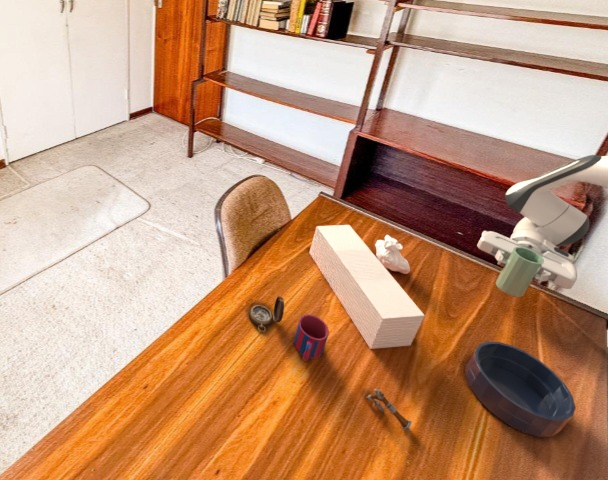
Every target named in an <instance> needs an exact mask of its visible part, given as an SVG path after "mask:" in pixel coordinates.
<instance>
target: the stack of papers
mask: <svg viewBox="0 0 608 480" xmlns="http://www.w3.org/2000/svg"><path fill="white" fill-rule="evenodd" d="M309 255H310V256H311V258H312V260H313V261H314V263H315V264H316V266H317V268H318V269H319V270H320V272H321V274H322V275H323V277H324V278H325V280H326V282H327V283H328V285H329V286H330V288H331V290H332V291H333V293H334V294H335V296H336V298H337V299H338V301H339V302H340V304H341V305H342V307H343V309H344V310H345V311H346V313H347V314H348V316H349V318H350V320H351V321H352V323H353V324H354V326H355V327H356V329H357V330H358V331H359V334H360V335H361V337H362V338H363V340H364V342H365V343H366V345H367V346H368V348H369V350H376V349H385V348H386V349H387V348H397V347H410V346H412V343H413V341H414V339H415V338H416V335H417V333H418V331H419V329H420V327H421V325H422V323H423V321H424V319H425V317H426V315H425V314H424V313H423V311H422V310H421V309H420V308H419V307H418V305H416V303H415V301H413V299H412V298H411V297H410V296H409V294H408V293H407V292H406V291H405V289H403V287H402V286H401V285H400V284H399V282H398V281H397V280H396V279H395V278H394V277H393V276H392V274H391V273H390V272H389V270H388V269H387V268H385V267H384V266H383V265H382V264H381V262H380V261H379V260H378V258H377V256H376V254H374V253H373V251H372V250H371V249H370V247H368V245H367V244H366V243H365V242H364V241H363V239H362V238H361V237H360V236H359V235H358V233H357V232H356V231H355V230H354V228H352V226H351V225H350V224H335V225H334V224H333V225H317V226H315V231H314V234H313V237H312V241H311V245H310V249H309Z"/></svg>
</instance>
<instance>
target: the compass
mask: <svg viewBox="0 0 608 480" xmlns="http://www.w3.org/2000/svg"><path fill="white" fill-rule="evenodd" d="M284 310H285V301H284V298H283V297H282V296H280V295H278V296H277V297H276V299H275V302H274V308H273V313H272V310H270V308H268V307H267V306H264V305H261V304H254V305H252V306H251V307H250V308H249V311H248V317H249V319H250V321H251V322H252V323H253V324H254V325H256V326H258V327H257V329H258V331H259V332H261V333H264V332H265V331H266V328H267V327H270V326H271V325H272V324H273V323H274V322H275V323H278V324H279V323H281V321H282V320H283V317H284V312H285V311H284ZM260 328H262V329H263V328H264V330H260Z"/></svg>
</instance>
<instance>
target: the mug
mask: <svg viewBox="0 0 608 480" xmlns="http://www.w3.org/2000/svg"><path fill="white" fill-rule="evenodd" d="M329 335H330V330H329V327H328V324H327V323H326V322H325V321H324V320H323V319H321V318H320V317H318V316H316V315H313V314H304V315H302V316H301V317H299V320H298V323H297V326H296V330H295V333H294V337H293V346H294V348H295V349H296V351H298V352H299V354H300V355H301V356H302V360H303V361H305V362H308V361H309V359H312V360H316V359H318V358H321V356H322V355H323V352H324V350H325V346H326V343H327V340H328V337H329Z"/></svg>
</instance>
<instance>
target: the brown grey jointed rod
mask: <svg viewBox="0 0 608 480" xmlns="http://www.w3.org/2000/svg"><path fill="white" fill-rule="evenodd" d="M373 392H375V393H373V394H372V393H371V394H368V395H366V398H365V399H366V400H367V401H373V404H374V407H376V408H377V409H378V411H381V412H382V413H383V412H384V411H385V409H384V407H385V408H386V409H387V410H388V411H389V412H390V413H391V415H393V416H394V417H395V419H396V420H397V421H398V422H399V424H400V425H401V430H402V431H406V430H410V428H411V426H412V423H413V421H411V419H409V420H408V419H407V418H406V417H404V416H403V415H401V413H400V412H399V411H398V410H397V408H396V407H395V406H394V405H393V404H392V403H391V401H389V400H388V399H387V398H386V397H385V394H384V392H382V391H381V390H380V389H377V388H374V389H373ZM381 402H382V403H383V404H384V405H383V404H381Z"/></svg>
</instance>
